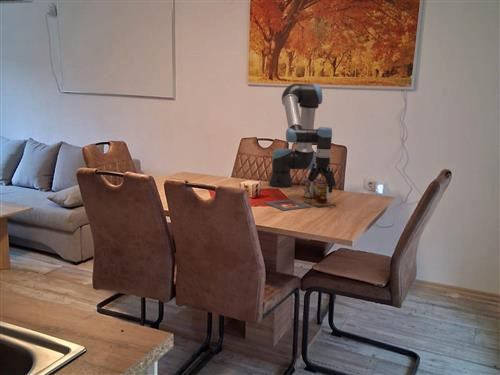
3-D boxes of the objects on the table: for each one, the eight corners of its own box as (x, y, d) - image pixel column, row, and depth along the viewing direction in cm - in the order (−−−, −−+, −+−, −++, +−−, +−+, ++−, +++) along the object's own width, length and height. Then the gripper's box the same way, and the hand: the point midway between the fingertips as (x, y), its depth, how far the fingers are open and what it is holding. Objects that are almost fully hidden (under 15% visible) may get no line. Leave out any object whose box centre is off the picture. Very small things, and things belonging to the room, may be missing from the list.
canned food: (315, 204, 249) (317, 182, 246) (310, 200, 256) (311, 179, 254) (329, 203, 251) (331, 181, 248) (323, 200, 258) (325, 179, 256)
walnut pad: (304, 202, 255) (304, 201, 255) (321, 200, 262) (321, 199, 261) (318, 207, 245) (318, 206, 245) (335, 205, 252) (335, 203, 252)
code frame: (263, 203, 251) (263, 202, 251) (290, 200, 261) (290, 199, 260) (283, 211, 236) (283, 210, 236) (311, 207, 246) (311, 206, 245)
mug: (321, 196, 272) (322, 178, 270) (315, 199, 264) (317, 181, 262) (302, 194, 278) (303, 176, 275) (296, 196, 270) (297, 178, 267)
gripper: (302, 153, 257) (300, 191, 261) (333, 160, 236) (330, 201, 240) (313, 153, 261) (311, 190, 265) (344, 159, 240) (341, 200, 244)
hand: (320, 195), depth 253 cm, fingers open, 13 cm apart
